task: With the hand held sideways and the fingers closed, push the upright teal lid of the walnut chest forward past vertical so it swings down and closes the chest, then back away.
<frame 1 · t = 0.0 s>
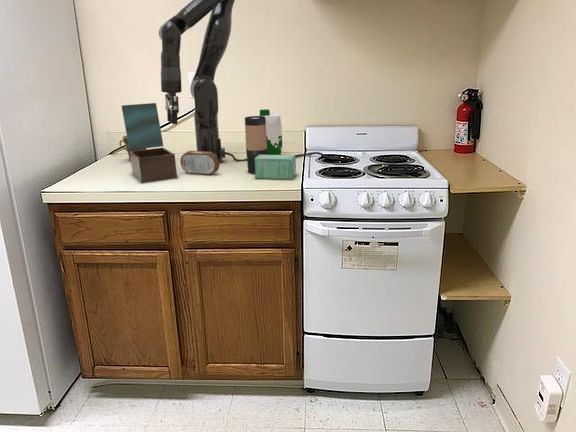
hand: (172, 122, 192), 17 cm above the worktop, tool pointing down, fingers open, 8 cm apart
milk carton: (271, 159, 206), on the worktop
tin: (200, 174, 184), on the worktop
travel mug: (257, 172, 185), on the worktop
ceramic cup: (135, 160, 211), on the worktop
chest: (154, 176, 182), on the worktop
lid: (142, 126, 185), point 17 cm above the worktop, hinge at 106.1°
box: (276, 177, 176), on the worktop
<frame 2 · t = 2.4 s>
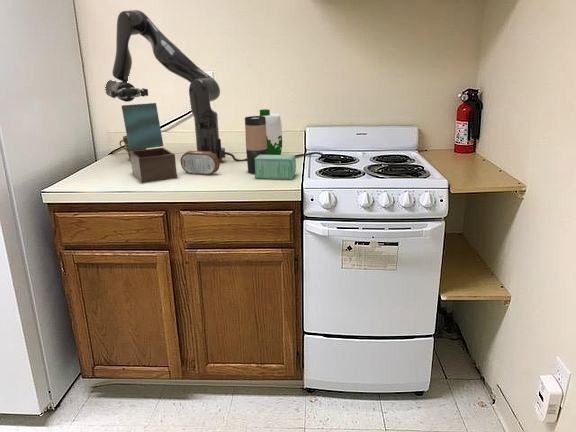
hand: (133, 94, 191), 28 cm above the worktop, tool horizontal, fingers open, 7 cm apart
nothing on the worktop moved.
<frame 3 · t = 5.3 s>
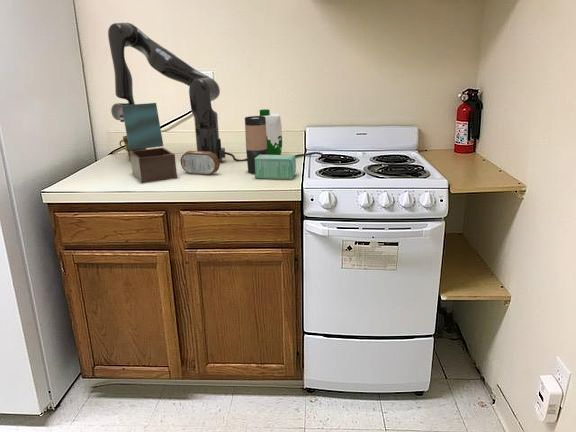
hand: (141, 119, 186), 20 cm above the worktop, tool horizontal, fingers closed
lid: (142, 126, 185), point 17 cm above the worktop, hinge at 105.3°, touching gripper
everything else where it was.
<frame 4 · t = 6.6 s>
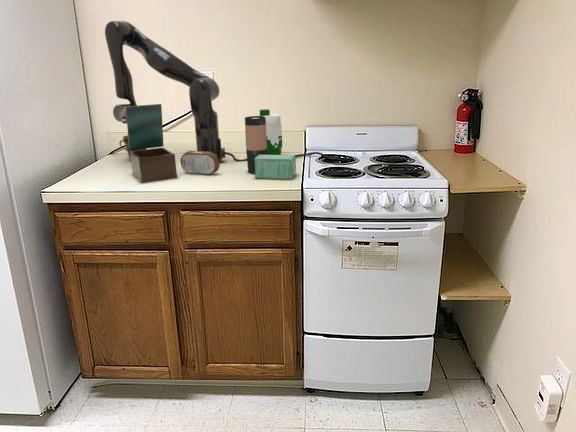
hand: (143, 121, 181), 20 cm above the worktop, tool horizontal, fingers closed
lid: (145, 127, 182), point 17 cm above the worktop, hinge at 77.2°, touching gripper
everything else where it was.
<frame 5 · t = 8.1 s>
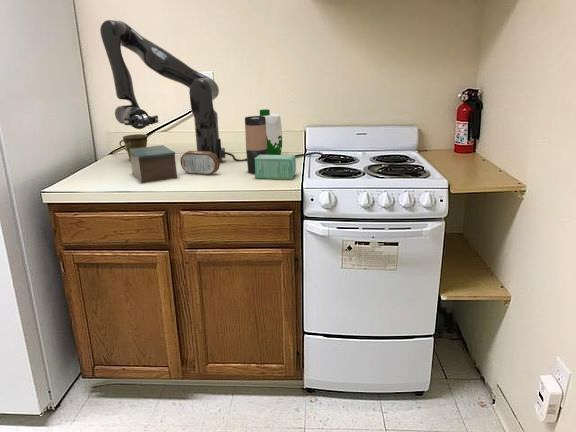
hand: (146, 122, 176), 20 cm above the worktop, tool horizontal, fingers closed
lid: (151, 151, 179), point 9 cm above the worktop, hinge at -0.1°
everything else where it was.
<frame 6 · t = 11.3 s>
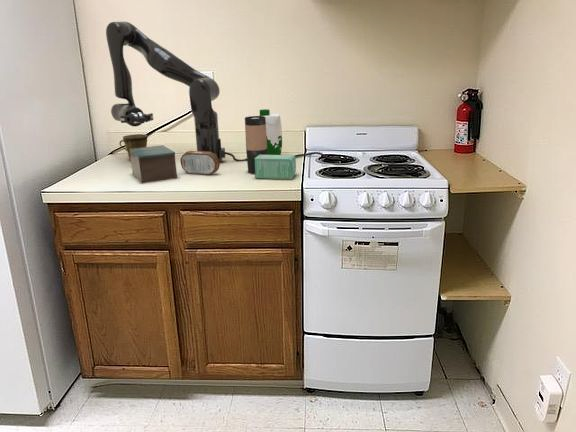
hand: (142, 120, 183), 19 cm above the worktop, tool horizontal, fingers closed
nothing on the worktop moved.
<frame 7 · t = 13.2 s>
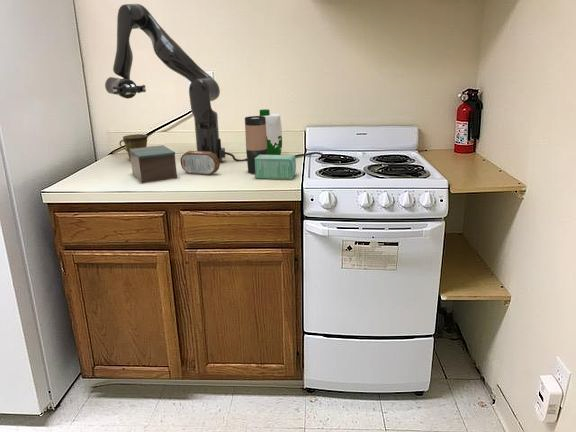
hand: (134, 90, 186), 30 cm above the worktop, tool horizontal, fingers closed
nothing on the worktop moved.
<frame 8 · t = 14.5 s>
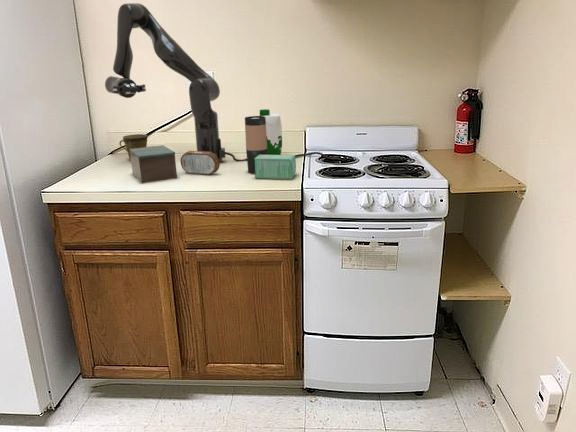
hand: (134, 90, 186), 30 cm above the worktop, tool horizontal, fingers closed
nothing on the worktop moved.
at the end: lid at +0° (first picture: +106°); tin moved 0.2 cm from its start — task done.
